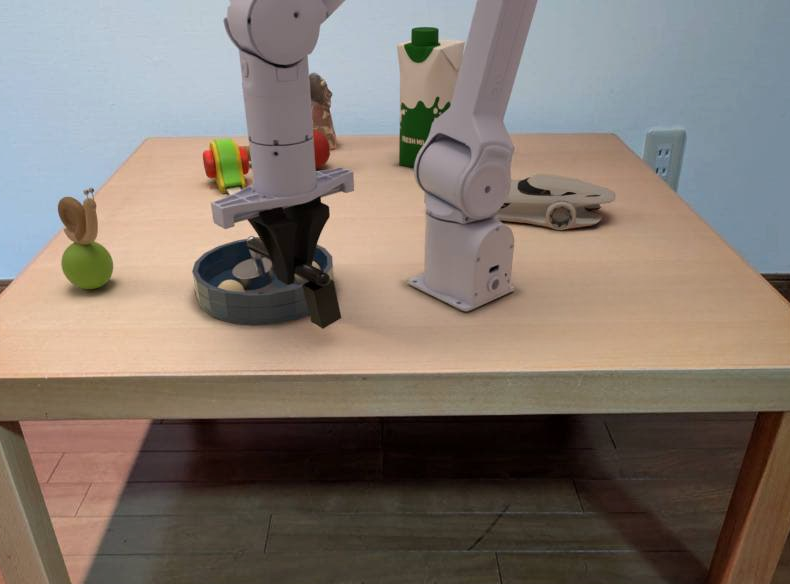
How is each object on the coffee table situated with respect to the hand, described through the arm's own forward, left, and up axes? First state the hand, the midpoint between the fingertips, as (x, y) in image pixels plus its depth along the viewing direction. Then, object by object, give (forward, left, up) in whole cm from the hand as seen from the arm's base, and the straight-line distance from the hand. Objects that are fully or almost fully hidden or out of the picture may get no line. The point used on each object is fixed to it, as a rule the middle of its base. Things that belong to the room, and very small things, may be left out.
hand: (293, 278), depth 72 cm
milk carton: (+31, -48, -6) cm, 58 cm away
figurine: (+51, -40, -6) cm, 65 cm away
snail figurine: (+23, +12, -6) cm, 27 cm away
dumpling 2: (+6, -6, -4) cm, 9 cm away
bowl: (+9, -2, -6) cm, 11 cm away
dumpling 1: (+8, +3, -4) cm, 9 cm away
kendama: (+46, -28, -6) cm, 54 cm away
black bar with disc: (+3, -1, -3) cm, 4 cm away
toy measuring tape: (+41, -17, -6) cm, 45 cm away
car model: (+6, -42, -6) cm, 43 cm away
